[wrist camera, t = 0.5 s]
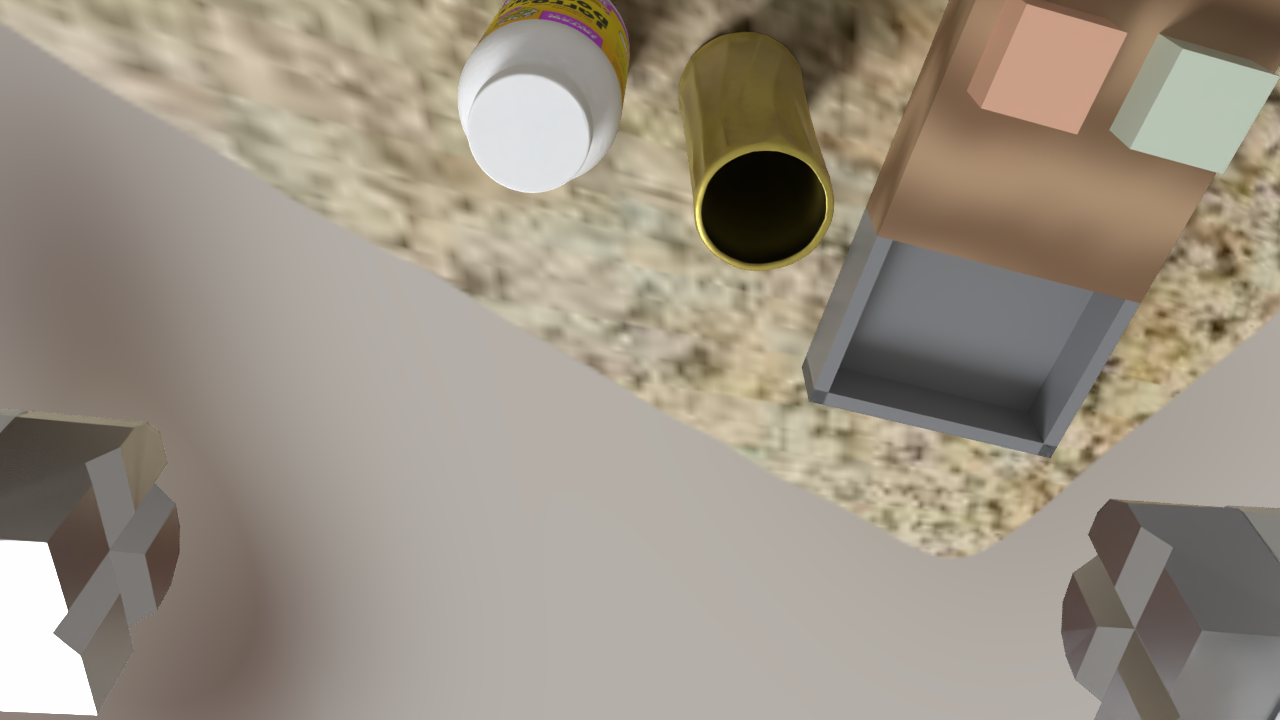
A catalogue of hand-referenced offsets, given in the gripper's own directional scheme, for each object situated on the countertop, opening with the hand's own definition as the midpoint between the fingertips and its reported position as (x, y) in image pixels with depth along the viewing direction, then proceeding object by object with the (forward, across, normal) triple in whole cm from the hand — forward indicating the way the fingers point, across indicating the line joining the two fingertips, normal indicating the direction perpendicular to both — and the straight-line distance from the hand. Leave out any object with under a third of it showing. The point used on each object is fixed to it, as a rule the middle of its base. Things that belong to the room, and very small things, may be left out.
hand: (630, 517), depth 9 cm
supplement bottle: (+43, +4, +8) cm, 44 cm away
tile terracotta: (+40, -17, +6) cm, 44 cm away
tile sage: (+40, -24, +7) cm, 47 cm away
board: (+43, -20, +8) cm, 48 cm away
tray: (+43, -18, +21) cm, 51 cm away
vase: (+43, -5, +9) cm, 45 cm away
